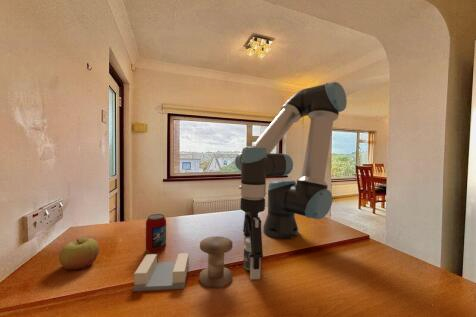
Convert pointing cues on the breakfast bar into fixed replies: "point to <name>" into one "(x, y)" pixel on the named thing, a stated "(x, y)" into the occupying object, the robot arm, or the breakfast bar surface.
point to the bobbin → (215, 262)
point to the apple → (79, 253)
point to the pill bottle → (247, 254)
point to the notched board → (161, 273)
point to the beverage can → (155, 233)
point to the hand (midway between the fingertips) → (251, 266)
